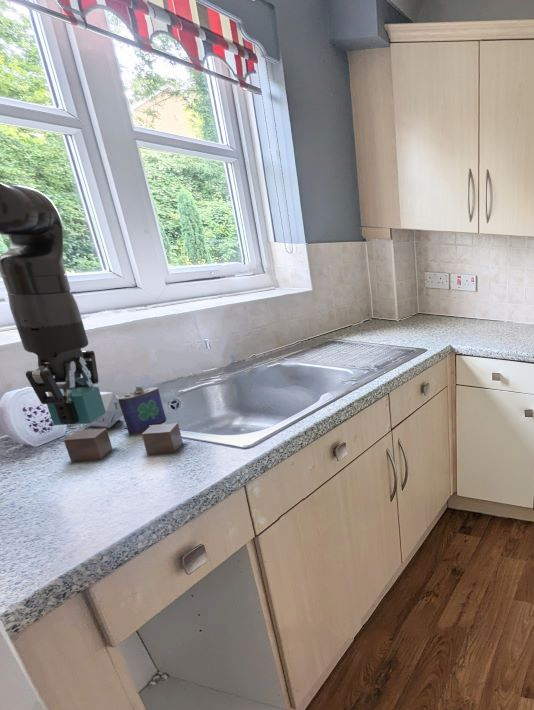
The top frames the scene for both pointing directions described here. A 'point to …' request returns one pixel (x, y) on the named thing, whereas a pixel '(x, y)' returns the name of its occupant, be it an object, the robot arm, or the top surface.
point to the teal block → (82, 405)
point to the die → (108, 411)
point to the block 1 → (88, 444)
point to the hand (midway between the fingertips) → (80, 416)
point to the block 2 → (162, 438)
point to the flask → (142, 409)
